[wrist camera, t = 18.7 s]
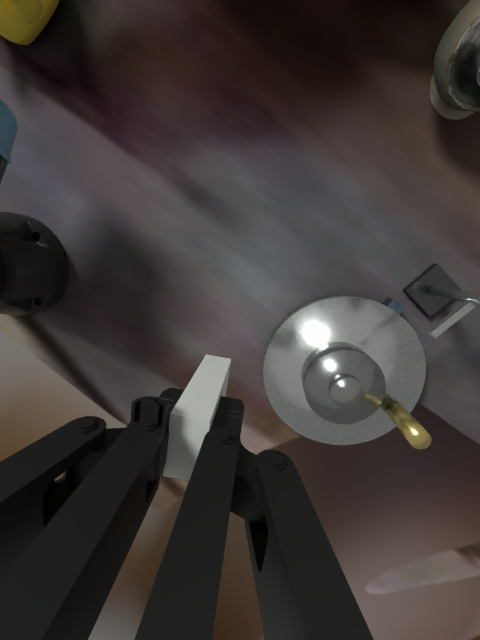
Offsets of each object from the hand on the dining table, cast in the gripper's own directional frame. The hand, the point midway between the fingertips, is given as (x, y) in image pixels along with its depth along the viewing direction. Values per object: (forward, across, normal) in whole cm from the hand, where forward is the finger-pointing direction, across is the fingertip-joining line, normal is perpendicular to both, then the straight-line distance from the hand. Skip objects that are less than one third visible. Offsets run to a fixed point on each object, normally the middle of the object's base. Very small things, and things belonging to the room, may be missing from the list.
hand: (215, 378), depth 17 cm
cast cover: (+23, +14, -7) cm, 28 cm away
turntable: (+26, +15, -7) cm, 30 cm away
